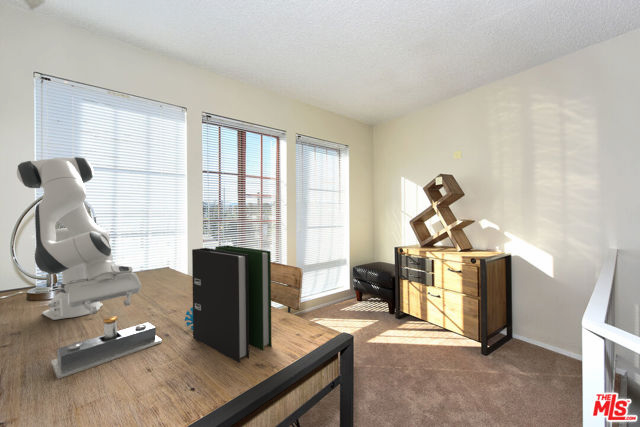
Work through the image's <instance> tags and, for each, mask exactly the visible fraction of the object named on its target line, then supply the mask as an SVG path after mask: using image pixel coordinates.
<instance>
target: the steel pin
mask: <svg viewBox="0 0 640 427" xmlns="http://www.w3.org/2000/svg"><path fill="white" fill-rule="evenodd" d="M102 323H103V326H104V327H103V329H104V330H103V331H104V332H103V335H104V342H105V341H109V340H112V339H115V338H117V331H118V325H117V324H118V316H116V315H113V316H108V317H105V318H104V319H103V322H102Z"/></svg>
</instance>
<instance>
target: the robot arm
mask: <svg viewBox="0 0 640 427" xmlns="http://www.w3.org/2000/svg"><path fill="white" fill-rule="evenodd" d="M93 176H94V168H93V166H92V164H91V163H90V161H88V159H86V158H85V157H78V156H74V157H53V158H46V159H45V158H44V159H37V160H34V161H32V160H27V161H22V162H19V164H18V165H17V168H16V177H17V179H18V180H19V182H21V184H23V186H25V187H26V188H29V189H40V188H43V196H42V199H41V201H40V202H39V203H38V204H37V205H36V206H35V209H34V226H35V227H34V228H35V250H34V262H35V264H36V266H37V268H38V269H39V270H40V271H41V272H44V273H48V274H60V273H61V280H62V281H61V282H62V283H60V284H59V292H58V293H57V294H56V295H55V296H54V297H53V298H51V299H50V301H49V303H48V308H49V309H47V310H44V311H42V315H44V316H45V317H47V318H49V319H51V320H53V321H54V320H55V321H56V320H61V319H67V318H69V319H70V318H77V317H81V316H86V315H89V314H90V315H96V314H97V312H98V311H99V310H100V309H101V307H103V303H102V302H104V301H108V300H112V299H117V298H121V297H125V298H127V299H124V301H123V305H124V306H125V307H127V306H130V305H131V300H130V299H131V297H132V295H134V294H138V293H139V292H140V290H141V289H142V283H141V281H140V279H139V277H138V275H137V274H136V273H134V272H133V271H134V269H133V267H132V266H129V265H128V266H127V265H117V264H115V262H114V261H113V254H112V247H111V244H110V235H109V232H108V231H107V230H105V229H104V228H102V227H101V226H99V225H98V224H97V223H96V222H95V221H94V220H93V219H92V217H91V216H90V214H89V212H88V210H87V207H86V206H85V202H84V201H85V200H86V198H87V190H86V187H85V183H87V182H90V181H91V180H92V179H93ZM57 223H60V224H62V225H63V226H64V227H61V228H56V224H57Z"/></svg>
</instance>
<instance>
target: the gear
mask: <svg viewBox="0 0 640 427" xmlns="http://www.w3.org/2000/svg"><path fill="white" fill-rule="evenodd" d="M185 315H186V316H185V317H184V321H186V327H189V326H190V329H191V330H192V331H193V306H192V307H190V308H189V310H187V311H186V312H185Z"/></svg>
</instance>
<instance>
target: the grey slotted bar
mask: <svg viewBox="0 0 640 427" xmlns="http://www.w3.org/2000/svg"><path fill="white" fill-rule="evenodd" d="M156 328H157V327H156V326H154V325H153V323H150V322H144V323H141V324H137V325H134V326H130V327H127V328H123V329H120V330H117V338H115V339H112V340H109V341H105V342H104V334H102V335H99V336H96V337H92V338H89V339H85V340H82V341H78V342H76V343H71V344H68V345H65V346H61V347H57V349H56V350H57V351H56V354H57V355H56V358H55V359H52V360H51V367H52V369H53V371H54V374H55V376H56V379H57V380H59V379H62V378H65V377H69V376H71V375H73V374H77V373H79V372H82V371H86V370H88V369H90V368H94V367H96V366H99V365H102V364H105V363H108V362H111V361H114V360H115V359H116V360H117V359H118V358H121V357H124V356H128V355H131V354H133V353H136V352H139V351H142V350H144V349H147V348H151V347H152V346H153V347H154V346H155V345H158V344H162V343H163V341H162V338H160V337H159V336H157V330H156Z"/></svg>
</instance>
